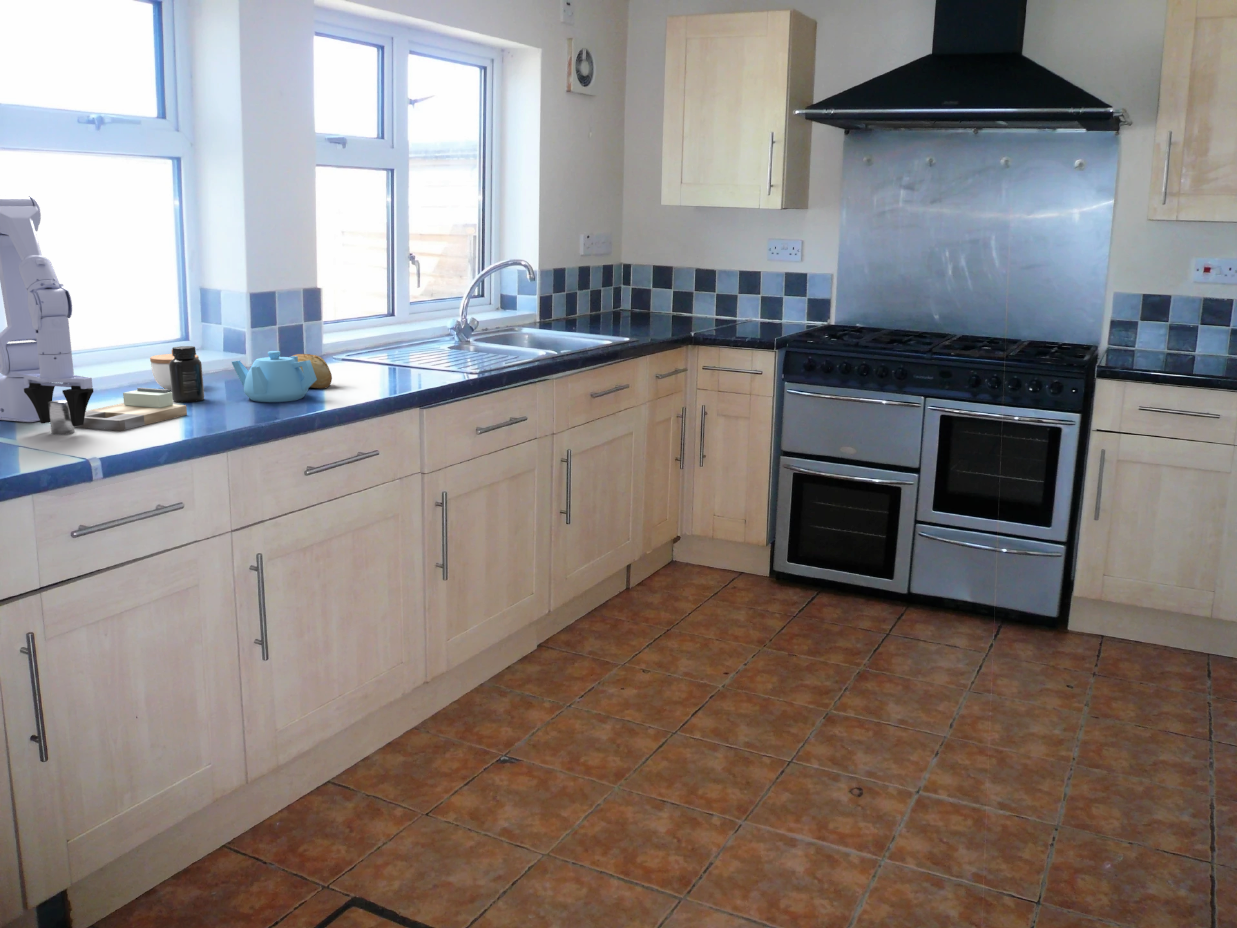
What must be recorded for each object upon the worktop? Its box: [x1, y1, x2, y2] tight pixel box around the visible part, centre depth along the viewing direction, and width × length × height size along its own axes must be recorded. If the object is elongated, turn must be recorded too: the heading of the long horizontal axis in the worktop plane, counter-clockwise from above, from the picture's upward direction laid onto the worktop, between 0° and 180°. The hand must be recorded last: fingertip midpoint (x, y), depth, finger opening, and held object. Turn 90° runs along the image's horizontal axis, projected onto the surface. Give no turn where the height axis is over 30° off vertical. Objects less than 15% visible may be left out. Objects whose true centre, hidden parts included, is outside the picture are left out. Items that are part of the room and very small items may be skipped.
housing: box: [74, 402, 188, 432], centre depth 227 cm, size 14×19×2 cm
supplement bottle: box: [169, 345, 205, 403], centre depth 250 cm, size 7×7×12 cm
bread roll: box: [292, 353, 333, 390], centre depth 271 cm, size 10×15×8 cm, turn 74°
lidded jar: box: [149, 349, 200, 391], centre depth 266 cm, size 11×11×9 cm
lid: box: [122, 387, 174, 408], centre depth 232 cm, size 9×4×3 cm, turn 71°
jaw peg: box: [48, 399, 76, 436], centre depth 213 cm, size 4×4×6 cm
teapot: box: [231, 350, 317, 403], centre depth 254 cm, size 15×15×11 cm
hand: (62, 424), depth 214 cm, fingers open, 7 cm apart
